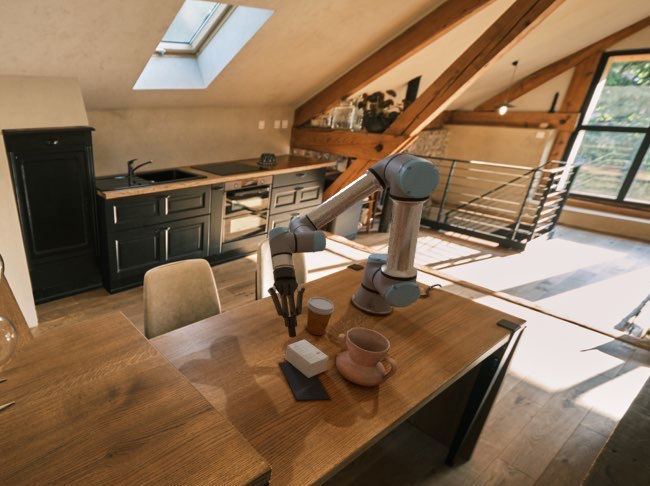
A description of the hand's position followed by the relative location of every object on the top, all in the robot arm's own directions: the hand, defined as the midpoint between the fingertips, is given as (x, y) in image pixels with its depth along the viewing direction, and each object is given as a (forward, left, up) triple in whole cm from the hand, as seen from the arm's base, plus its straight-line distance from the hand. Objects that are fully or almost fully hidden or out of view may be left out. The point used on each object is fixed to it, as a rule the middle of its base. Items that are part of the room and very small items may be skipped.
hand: (292, 336), depth 127 cm
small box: (-1, 0, -5) cm, 5 cm away
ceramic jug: (-18, +13, -8) cm, 23 cm away
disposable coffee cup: (-16, -12, -8) cm, 22 cm away
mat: (+1, +12, -8) cm, 14 cm away
